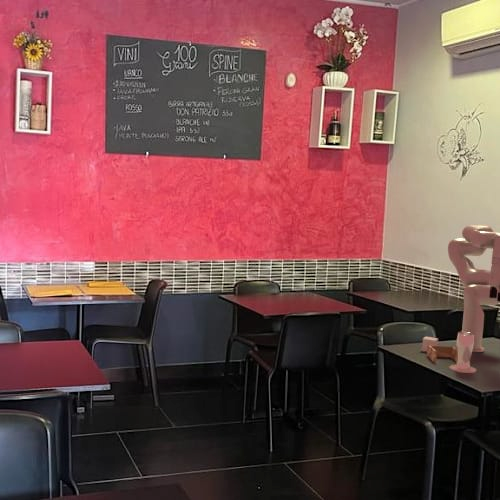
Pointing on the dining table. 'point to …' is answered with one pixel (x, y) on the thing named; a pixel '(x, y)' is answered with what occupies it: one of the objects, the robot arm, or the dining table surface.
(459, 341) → the beer glass
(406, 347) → the dining table surface
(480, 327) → the robot arm
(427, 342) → the pale pink cube
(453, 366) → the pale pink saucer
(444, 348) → the wooden u-shaped bracket
